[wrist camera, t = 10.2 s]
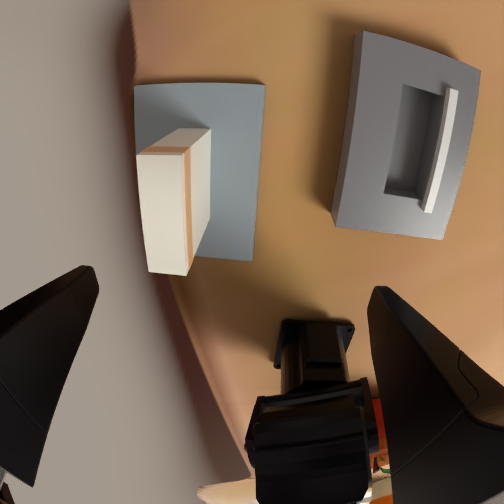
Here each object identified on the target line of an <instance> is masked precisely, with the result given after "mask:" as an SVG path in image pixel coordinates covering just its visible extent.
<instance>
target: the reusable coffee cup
mask: <svg viewBox="0 0 504 504" xmlns="http://www.w3.org/2000/svg"><path fill="white" fill-rule="evenodd" d="M370 504H393V496H392V485H391V477H389V478H386V479H383V480H380V481H377V482H375V483H373V484H372V499H371V502H370Z"/></svg>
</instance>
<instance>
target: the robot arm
mask: <svg viewBox="0 0 504 504" xmlns="http://www.w3.org/2000/svg"><path fill="white" fill-rule="evenodd" d="M98 293H99V285H98V281H97V278H96V275H95V271H94V269H93V267H91V266H85V265H81V266H79V267H77V268H75V269H73V270H72V271H70V272H68V273H66V274H64V275H62V276H60V277H58V278H56V279H55V280H53V281H51V282H49V283H47V284H45V285H44V286H42V287H40V288H38V289H36V290H35V291H33V292H31V293H29V294H27V295H26V296H24V297H22V298H20V299H19V300H17V301H15V302H13V303H12V304H10V305H8V306H7V307H5V308H3V310H0V504H15V503H14V501H13V498H12V495H11V493H10V490H9V487H8V484H6V483H5V482H4V478H5V476H6V473H9V474H10V475H12V476H13V477H15V478H17V479H18V480H20V481H22V482H23V483H25V484H27V485H29V486H31V487H33V486H34V483H35V479H36V475H37V471H38V467H39V463H40V459H41V455H42V452H43V448H44V444H45V441H46V438H47V434H48V431H49V428H50V424H51V421H52V418H53V415H54V412H55V409H56V406H57V403H58V400H59V397H60V395H61V392H62V389H63V386H64V384H65V381H66V378H67V376H68V373H69V371H70V368H71V365H72V363H73V360H74V358H75V355H76V353H77V351H78V348H79V346H80V343H81V341H82V339H83V336H84V334H85V331H86V329H87V326H88V323H89V320H90V317H91V314H92V311H93V308H94V305H95V302H96V299H97V296H98ZM367 316H368V325H369V335H370V345H371V354H372V360H373V365H374V370H375V375H376V380H377V386H378V391H379V397H380V402H381V408H382V414H383V421H384V427H385V434H386V441H387V449H388V456H389V465H390V474H391V485H392V496H393V504H504V386H503V385H501V384H500V383H499V382H498V381H496V380H495V379H494V378H493V377H491V376H490V375H489V374H488V373H487V372H485V371H484V370H483V369H482V368H480V367H479V366H478V365H477V364H476V363H475V362H474V361H473V360H471V359H470V358H469V357H468V356H467V355H466V354H465V353H464V352H463V351H462V350H459V348H458V347H457V346H456V345H455V344H454V343H453V342H452V341H450V340H449V339H448V338H447V337H446V336H445V335H444V334H443V333H441V332H440V331H439V330H438V329H437V328H436V327H435V326H434V325H432V324H431V323H430V322H429V321H428V320H427V319H426V318H424V317H423V316H422V315H421V314H420V313H419V312H417V311H416V310H415V309H414V308H413V307H412V306H410V305H409V304H408V303H407V302H406V301H405V300H403V299H402V298H401V297H400V296H399V295H397V294H396V293H395V292H394V291H393V290H391V289H390V288H389V287H387V286H376V287H374V289H373V292H372V295H371V298H370V301H369V304H368V308H367ZM286 325H288V326H286ZM349 328H350V329H349ZM354 331H355V327H354V324H352V323H340V322H321V321H304V320H290V319H285V320H283V321H281V324H280V330H279V336H278V341H277V347H276V352H275V358H274V368H276V369H281V395H274V396H266V397H265V396H258V397H257V400H256V404H255V405H254V409H253V413H252V416H251V420H250V423H249V427H248V430H247V434H246V437H245V445H244V449H245V451H246V452H247V454H248V458H249V461H250V464H251V466H252V467H253V468H254V469H255V475H256V499H257V501H258V503H259V504H359V503H360V502H361V500H362V499H363V498H364V496H365V493H366V491H367V489H368V487H369V485H370V483H371V480H372V475H371V465H370V456H369V455H371V454H375V453H379V452H380V448H379V437H378V429H377V422H376V416H375V411H374V407H373V402H372V398H371V393H370V389H369V384H368V380H367V377H364V378H360V380H356V381H352V382H350V378H349V372H348V366H347V361H346V355H345V354H346V351H347V349H348V346H349V344H350V341H351V339H352V336H353V334H354Z"/></svg>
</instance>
